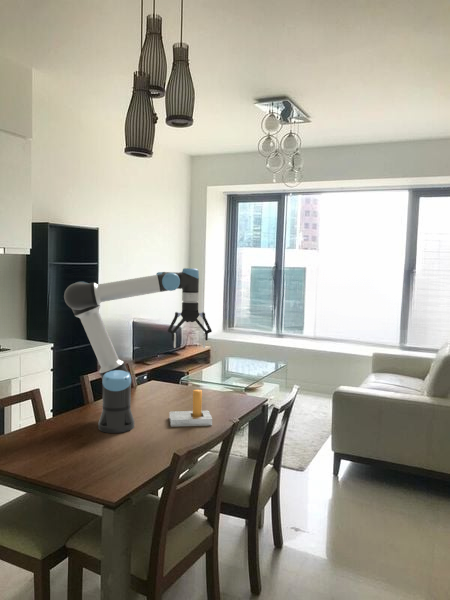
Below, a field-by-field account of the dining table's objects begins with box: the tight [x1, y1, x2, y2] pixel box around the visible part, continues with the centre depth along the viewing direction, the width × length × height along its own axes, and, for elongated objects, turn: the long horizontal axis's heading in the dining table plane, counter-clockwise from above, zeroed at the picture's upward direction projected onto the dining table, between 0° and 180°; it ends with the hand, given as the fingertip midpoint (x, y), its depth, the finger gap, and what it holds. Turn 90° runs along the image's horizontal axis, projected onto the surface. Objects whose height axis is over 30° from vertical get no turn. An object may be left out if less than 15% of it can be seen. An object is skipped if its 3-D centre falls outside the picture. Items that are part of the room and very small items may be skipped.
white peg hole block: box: [168, 409, 213, 428], centre depth 213 cm, size 18×12×3 cm, turn 99°
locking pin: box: [192, 389, 203, 417], centre depth 213 cm, size 4×4×14 cm
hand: (189, 347), depth 221 cm, fingers open, 13 cm apart
